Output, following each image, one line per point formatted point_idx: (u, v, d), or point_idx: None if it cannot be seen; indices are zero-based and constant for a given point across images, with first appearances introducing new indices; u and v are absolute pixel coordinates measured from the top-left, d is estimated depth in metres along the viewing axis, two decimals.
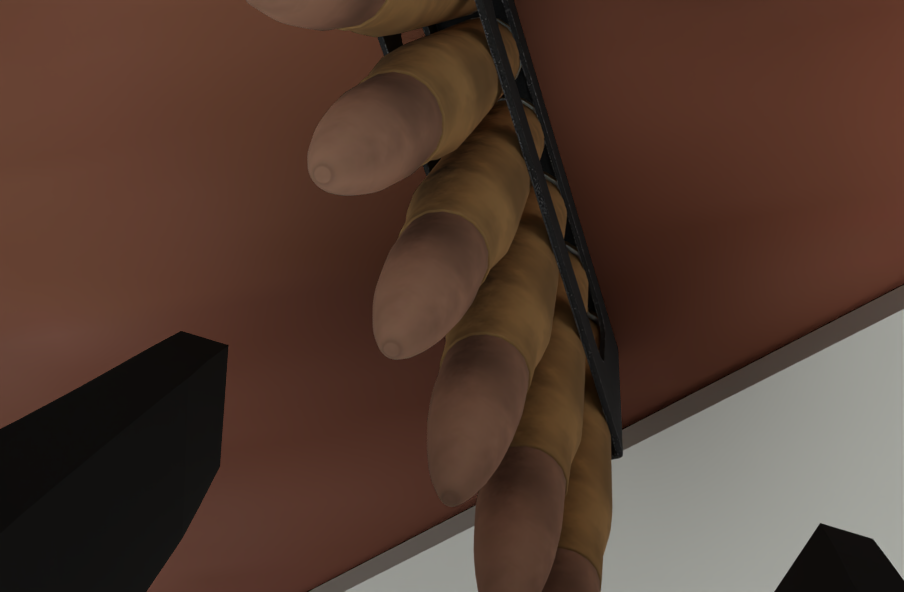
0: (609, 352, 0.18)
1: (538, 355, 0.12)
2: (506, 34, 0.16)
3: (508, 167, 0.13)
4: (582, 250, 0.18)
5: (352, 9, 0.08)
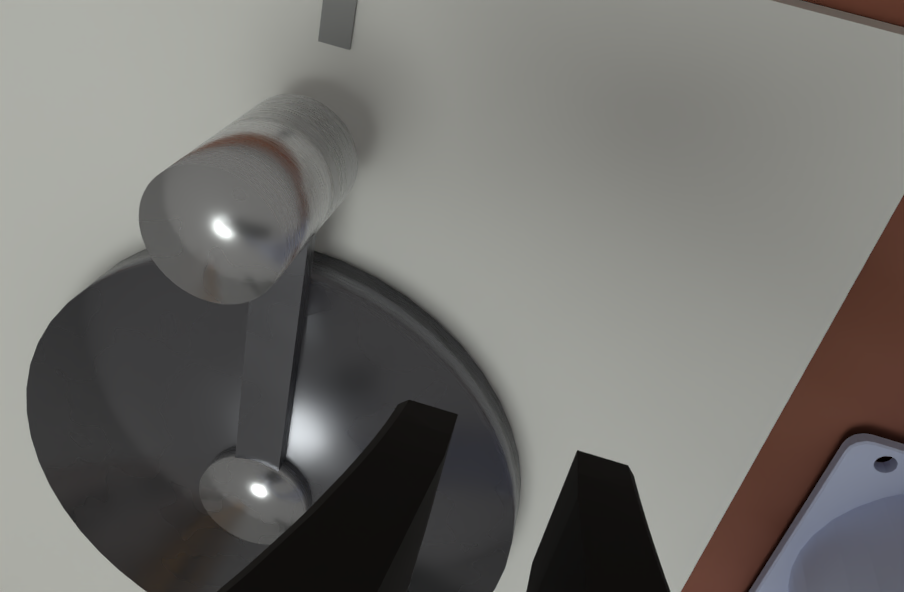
0: None
1: None
2: None
3: None
4: None
5: None
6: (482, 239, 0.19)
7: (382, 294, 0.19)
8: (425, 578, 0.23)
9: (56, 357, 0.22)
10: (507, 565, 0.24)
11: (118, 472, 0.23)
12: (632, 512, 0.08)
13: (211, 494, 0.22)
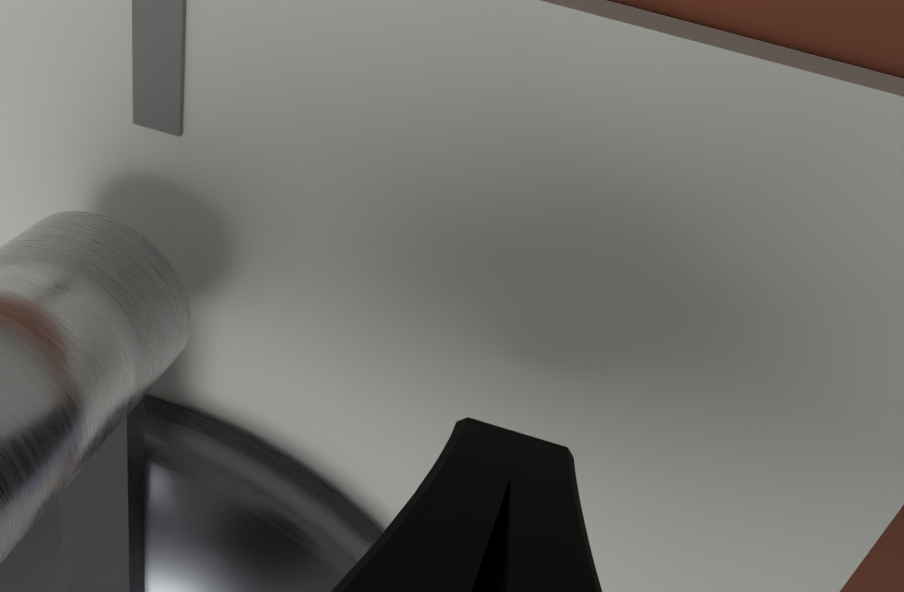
0: None
1: None
2: None
3: None
4: None
5: None
6: (392, 393, 0.13)
7: (255, 464, 0.14)
8: None
9: None
10: None
11: None
12: (565, 490, 0.08)
13: None
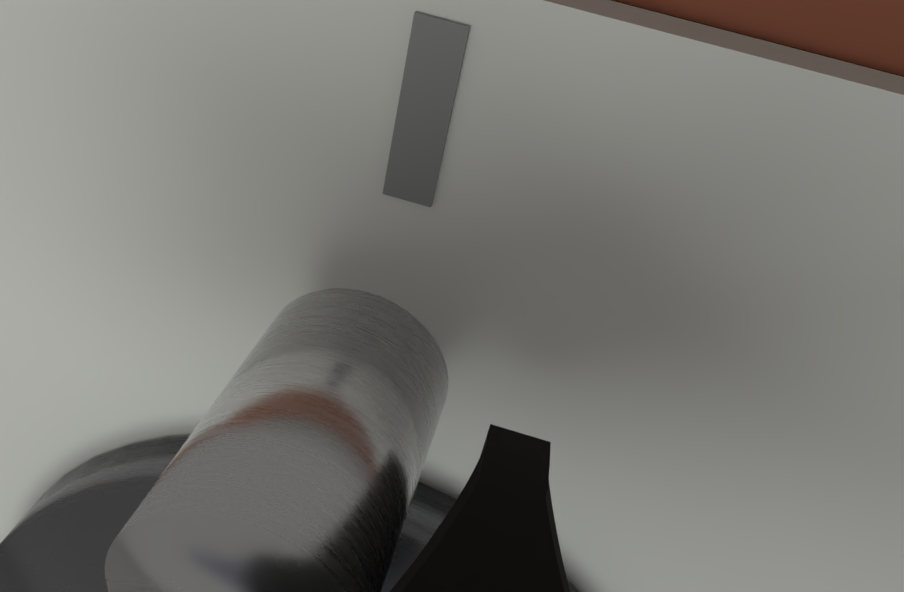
0: None
1: None
2: None
3: None
4: None
5: None
6: (615, 459, 0.13)
7: None
8: None
9: (6, 588, 0.16)
10: None
11: None
12: (535, 481, 0.08)
13: None
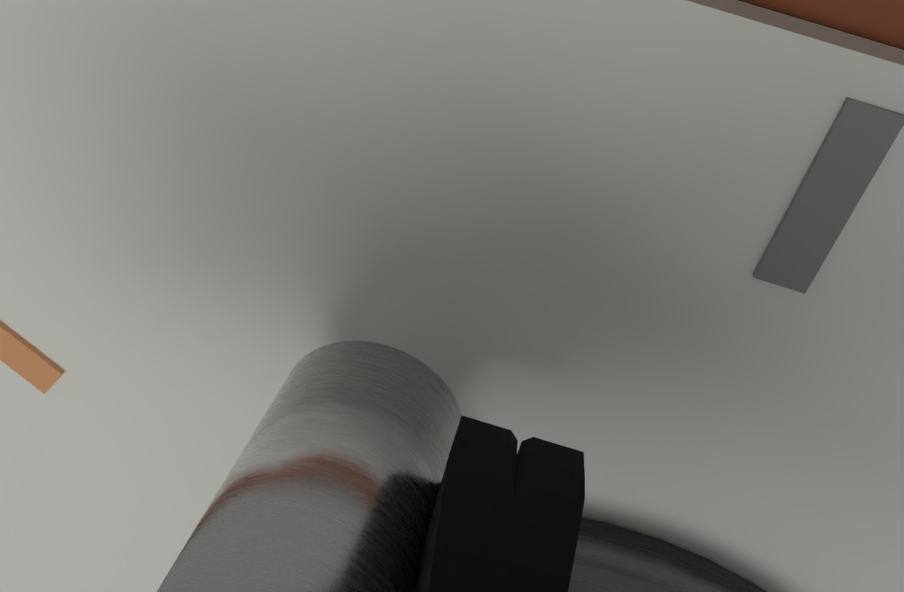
0: None
1: None
2: None
3: None
4: None
5: None
6: None
7: None
8: None
9: None
10: None
11: None
12: (502, 471, 0.08)
13: None
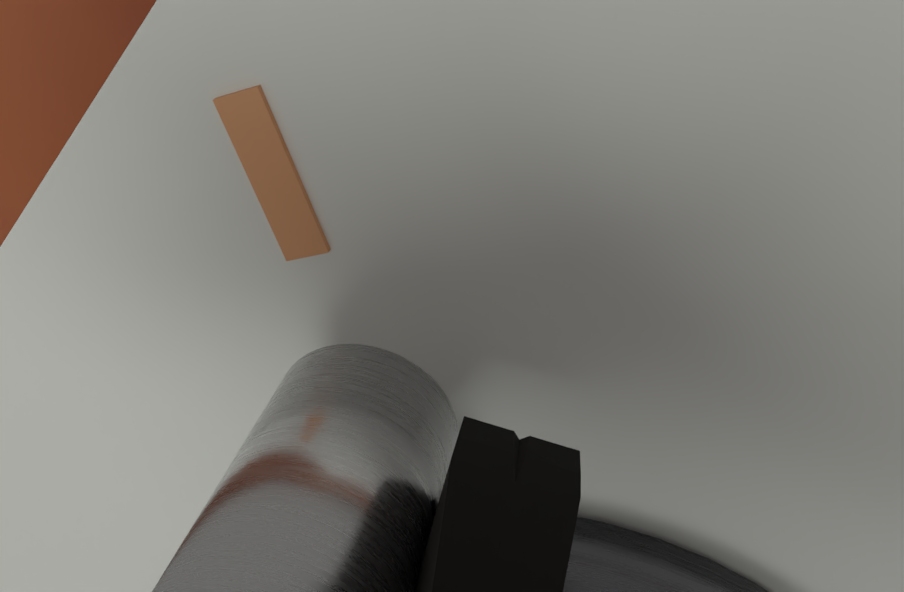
0: None
1: None
2: None
3: None
4: None
5: None
6: None
7: None
8: None
9: None
10: None
11: None
12: (505, 472, 0.08)
13: None
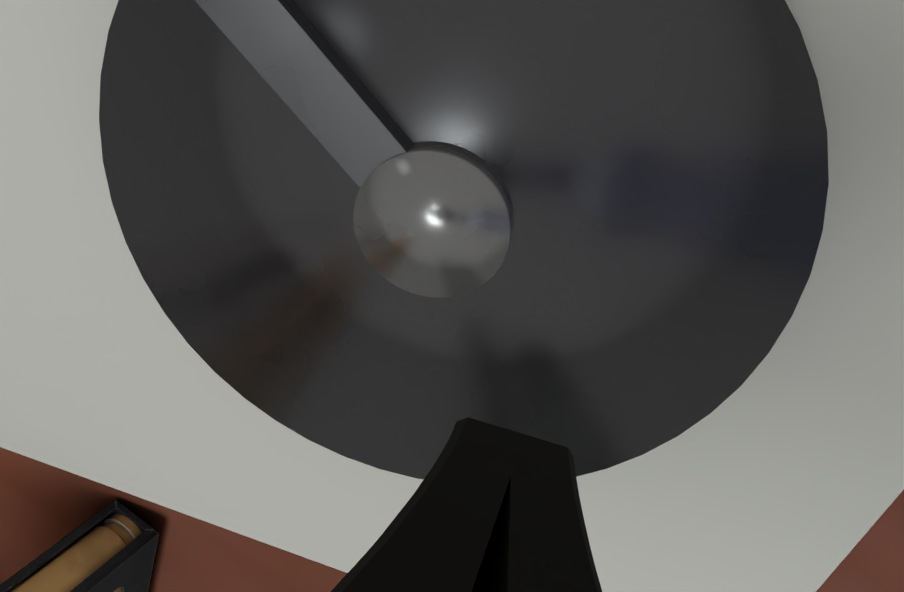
0: None
1: None
2: None
3: None
4: None
5: None
6: None
7: None
8: (708, 121, 0.14)
9: (167, 277, 0.18)
10: None
11: (331, 355, 0.18)
12: (564, 490, 0.08)
13: (392, 264, 0.16)
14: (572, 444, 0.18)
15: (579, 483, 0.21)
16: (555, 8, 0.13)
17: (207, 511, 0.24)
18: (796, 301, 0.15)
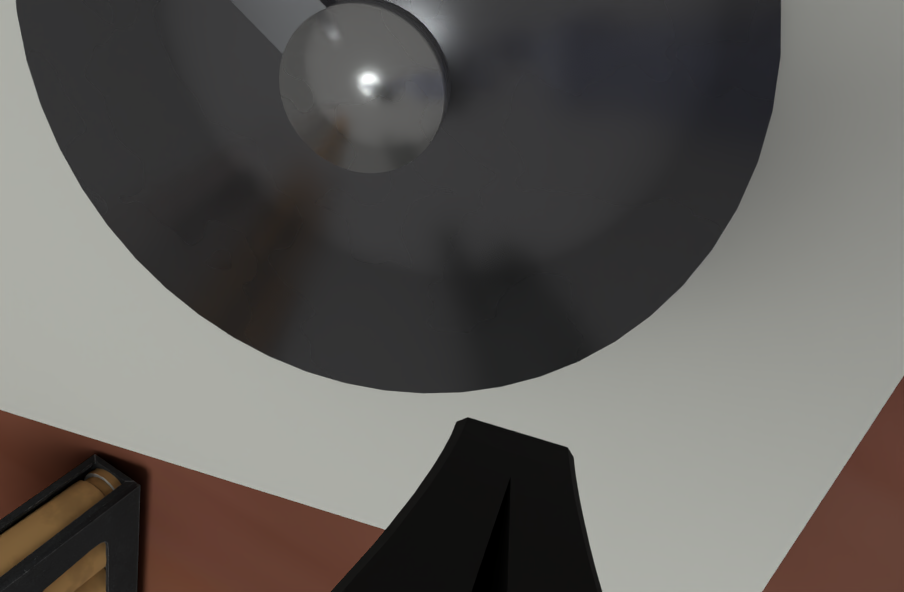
0: None
1: None
2: None
3: None
4: None
5: None
6: None
7: None
8: None
9: (105, 184, 0.17)
10: None
11: (280, 257, 0.17)
12: (564, 491, 0.08)
13: (325, 139, 0.15)
14: (541, 335, 0.17)
15: (560, 391, 0.19)
16: None
17: (185, 456, 0.23)
18: (760, 143, 0.14)
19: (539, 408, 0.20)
